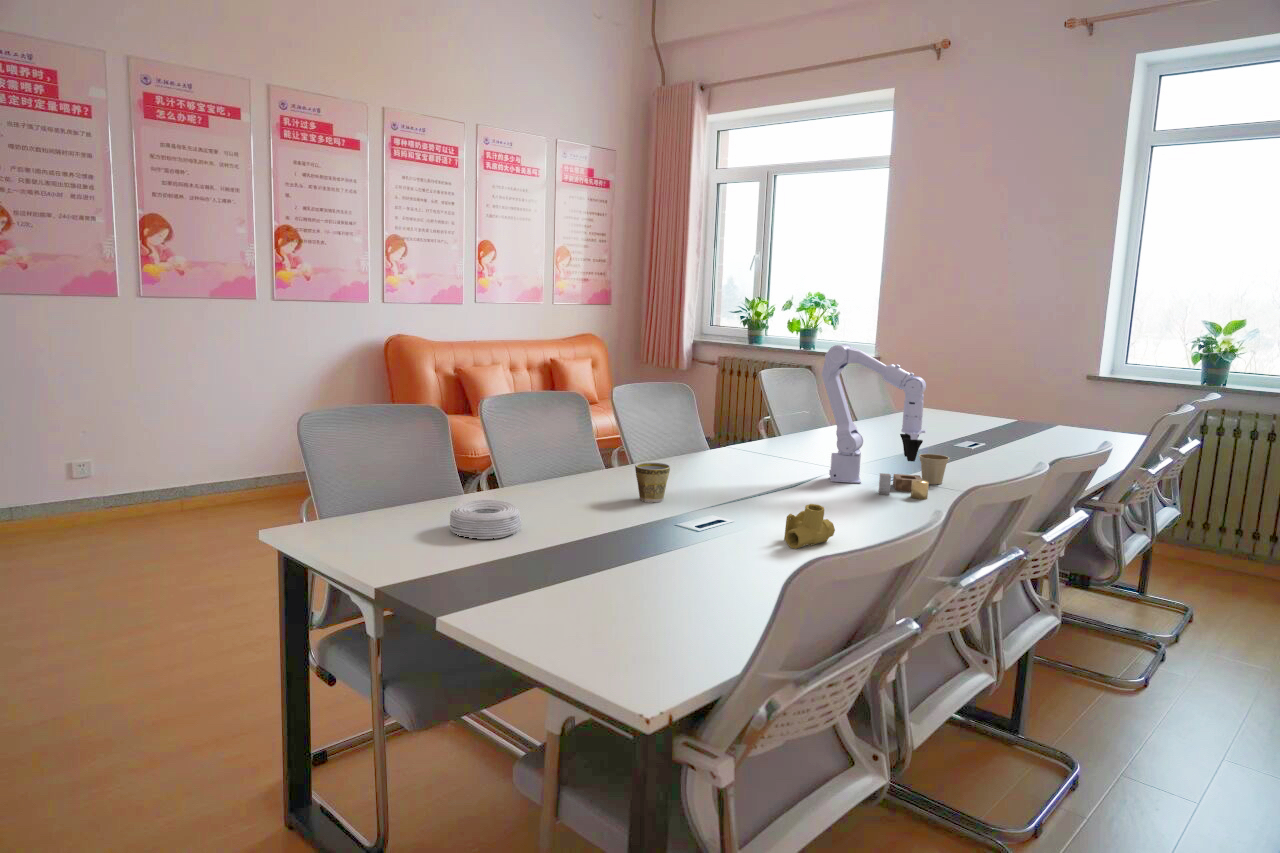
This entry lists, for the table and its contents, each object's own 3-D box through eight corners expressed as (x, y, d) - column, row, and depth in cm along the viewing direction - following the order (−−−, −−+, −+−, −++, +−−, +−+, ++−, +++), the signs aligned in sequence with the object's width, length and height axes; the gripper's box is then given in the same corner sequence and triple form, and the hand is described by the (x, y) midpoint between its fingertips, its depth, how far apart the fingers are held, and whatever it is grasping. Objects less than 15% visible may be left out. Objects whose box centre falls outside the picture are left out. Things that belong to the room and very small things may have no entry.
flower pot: (951, 486, 273) (953, 459, 271) (921, 485, 273) (923, 459, 272) (941, 479, 282) (944, 454, 281) (913, 479, 282) (915, 453, 281)
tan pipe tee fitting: (835, 545, 208) (803, 530, 215) (840, 506, 205) (808, 492, 212) (800, 557, 200) (769, 541, 208) (805, 517, 197) (773, 502, 205)
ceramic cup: (665, 505, 240) (666, 470, 238) (631, 502, 242) (631, 468, 240) (673, 494, 252) (674, 461, 251) (640, 492, 254) (641, 459, 252)
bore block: (895, 490, 265) (896, 479, 265) (892, 484, 273) (893, 473, 272) (922, 491, 264) (923, 480, 263) (918, 486, 272) (919, 475, 271)
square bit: (879, 494, 259) (880, 475, 258) (878, 492, 262) (879, 473, 261) (889, 495, 258) (890, 475, 257) (888, 493, 261) (889, 473, 260)
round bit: (911, 499, 254) (912, 482, 254) (909, 495, 259) (910, 479, 258) (928, 500, 254) (929, 483, 253) (926, 496, 258) (927, 480, 257)
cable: (490, 518, 223) (490, 495, 222) (536, 531, 212) (536, 507, 211) (435, 531, 210) (434, 507, 209) (481, 546, 199) (481, 521, 198)
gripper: (929, 419, 257) (926, 464, 259) (923, 413, 271) (919, 455, 273) (905, 418, 258) (902, 462, 260) (900, 412, 272) (896, 454, 274)
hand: (909, 458), depth 267 cm, fingers open, 7 cm apart
